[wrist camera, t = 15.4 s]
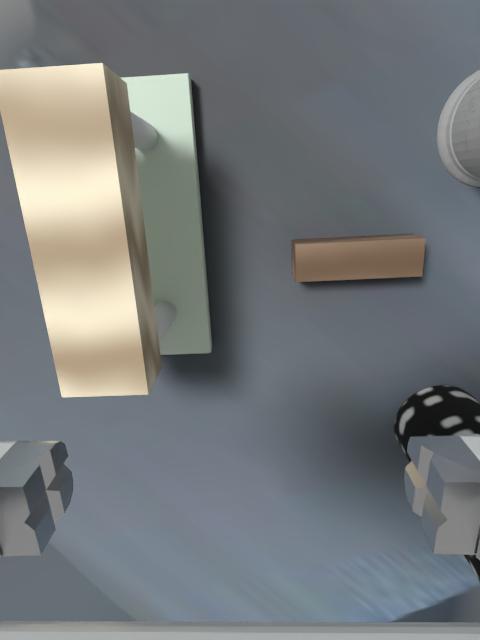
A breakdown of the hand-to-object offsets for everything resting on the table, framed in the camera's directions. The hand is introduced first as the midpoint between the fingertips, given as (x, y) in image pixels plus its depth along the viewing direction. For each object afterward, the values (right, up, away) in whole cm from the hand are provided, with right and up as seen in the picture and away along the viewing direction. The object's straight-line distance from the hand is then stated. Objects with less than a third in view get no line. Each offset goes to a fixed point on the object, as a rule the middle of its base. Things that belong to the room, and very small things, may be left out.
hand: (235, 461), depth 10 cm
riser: (+10, +9, +25) cm, 28 cm away
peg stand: (-9, +11, +25) cm, 28 cm away
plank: (-9, +8, +17) cm, 21 cm away
